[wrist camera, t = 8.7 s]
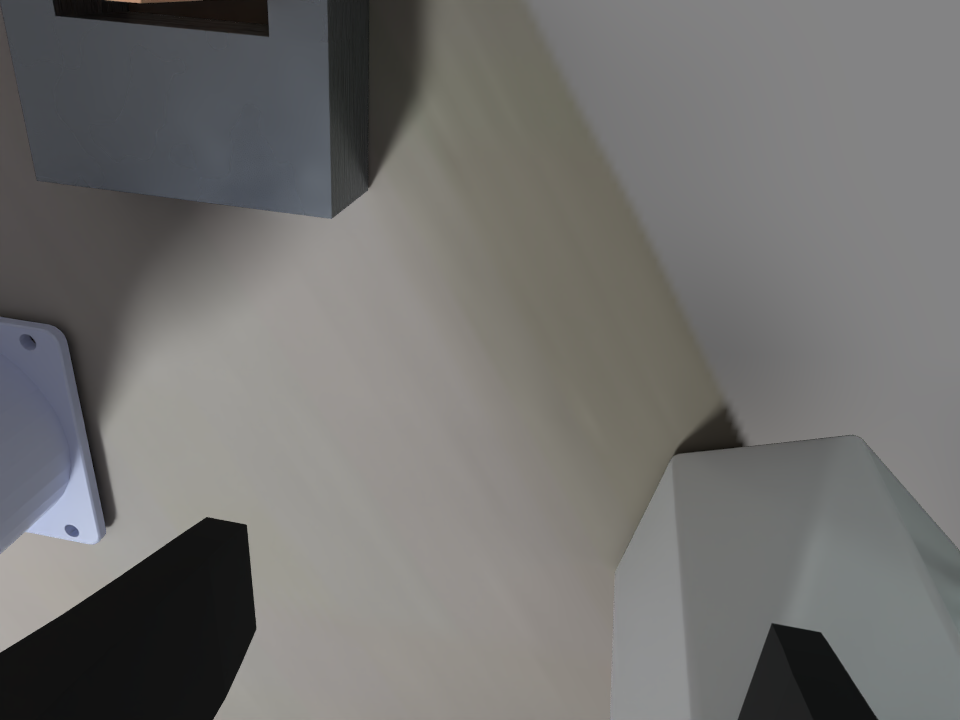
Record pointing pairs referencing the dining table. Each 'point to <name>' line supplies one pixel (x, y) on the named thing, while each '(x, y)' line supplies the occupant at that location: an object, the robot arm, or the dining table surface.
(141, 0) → the tan block
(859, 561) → the jar
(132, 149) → the grey slotted tray
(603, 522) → the dining table surface
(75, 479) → the robot arm
